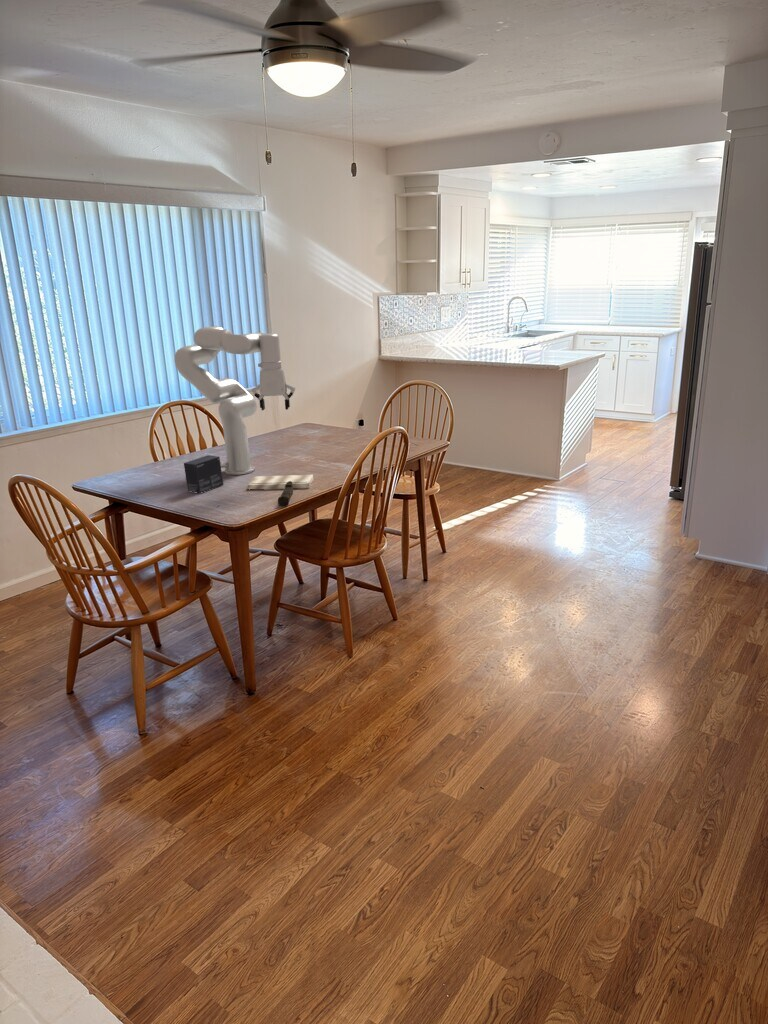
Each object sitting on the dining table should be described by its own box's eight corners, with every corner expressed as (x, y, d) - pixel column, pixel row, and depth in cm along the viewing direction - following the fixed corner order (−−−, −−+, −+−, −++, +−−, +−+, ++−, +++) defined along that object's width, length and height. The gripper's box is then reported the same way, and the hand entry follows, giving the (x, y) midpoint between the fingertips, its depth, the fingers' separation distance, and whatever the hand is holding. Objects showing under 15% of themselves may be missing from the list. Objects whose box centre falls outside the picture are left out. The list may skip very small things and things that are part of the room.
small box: (212, 483, 288) (208, 454, 284) (224, 485, 284) (220, 456, 280) (187, 492, 278) (183, 462, 274) (199, 494, 274) (195, 464, 270)
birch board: (248, 489, 276) (247, 484, 275) (254, 481, 288) (254, 476, 287) (309, 488, 275) (308, 482, 274) (313, 479, 286) (313, 474, 286)
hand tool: (289, 506, 255) (288, 494, 253) (278, 506, 255) (277, 494, 254) (298, 491, 273) (297, 479, 271) (288, 491, 273) (287, 479, 272)
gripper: (247, 368, 275) (251, 411, 280) (291, 366, 273) (294, 410, 279) (252, 365, 282) (256, 408, 287) (295, 364, 281) (298, 407, 286)
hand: (275, 409), depth 283 cm, fingers open, 9 cm apart
